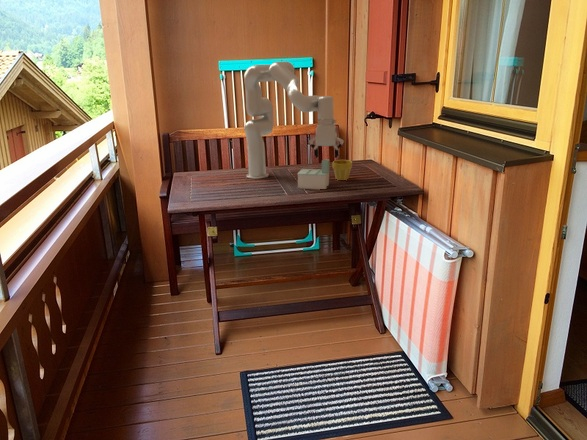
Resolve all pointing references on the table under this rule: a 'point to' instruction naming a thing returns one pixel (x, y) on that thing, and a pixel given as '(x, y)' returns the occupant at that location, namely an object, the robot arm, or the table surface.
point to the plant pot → (342, 169)
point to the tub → (313, 182)
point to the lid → (316, 170)
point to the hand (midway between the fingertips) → (326, 157)
